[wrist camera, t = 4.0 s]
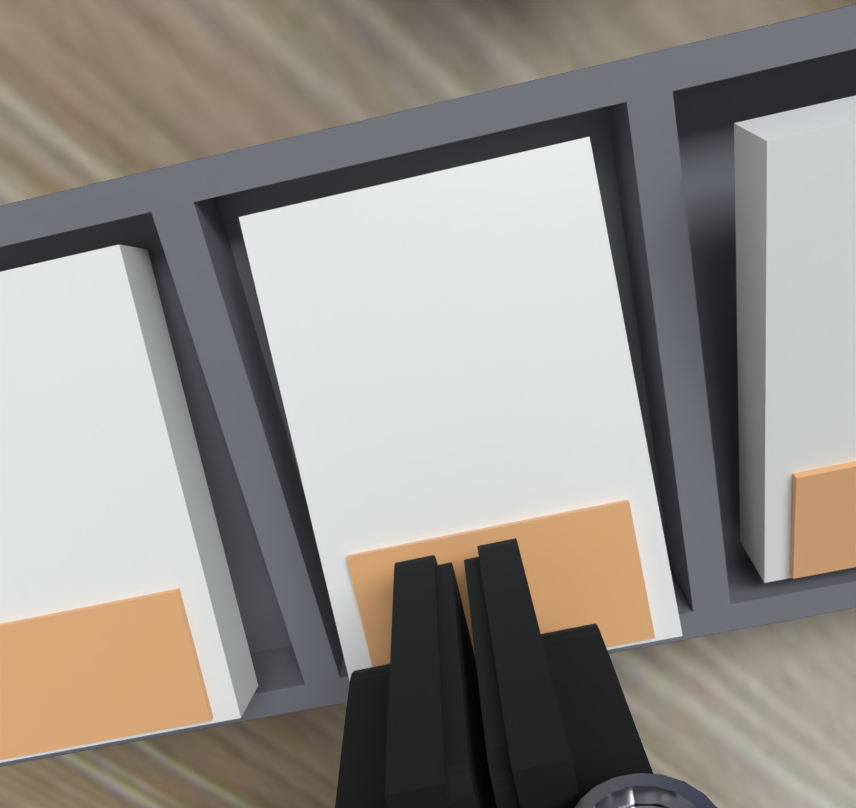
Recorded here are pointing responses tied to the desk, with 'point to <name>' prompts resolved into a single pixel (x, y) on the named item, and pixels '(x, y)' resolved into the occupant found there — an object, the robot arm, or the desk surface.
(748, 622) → the strip
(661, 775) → the robot arm
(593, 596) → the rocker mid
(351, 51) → the desk surface
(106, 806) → the desk surface
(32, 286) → the rocker
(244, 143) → the desk surface
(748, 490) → the rocker
